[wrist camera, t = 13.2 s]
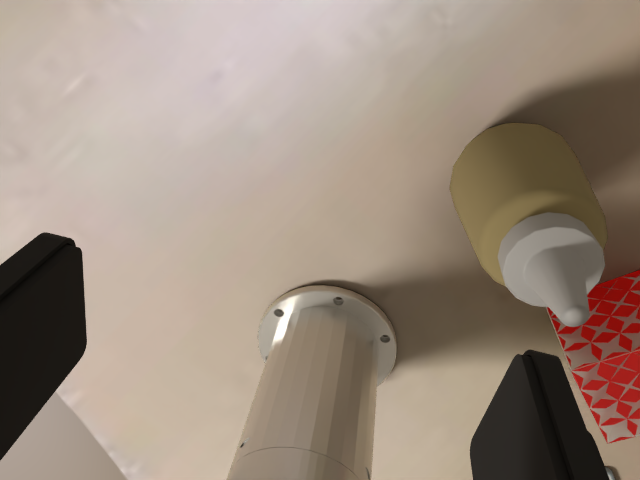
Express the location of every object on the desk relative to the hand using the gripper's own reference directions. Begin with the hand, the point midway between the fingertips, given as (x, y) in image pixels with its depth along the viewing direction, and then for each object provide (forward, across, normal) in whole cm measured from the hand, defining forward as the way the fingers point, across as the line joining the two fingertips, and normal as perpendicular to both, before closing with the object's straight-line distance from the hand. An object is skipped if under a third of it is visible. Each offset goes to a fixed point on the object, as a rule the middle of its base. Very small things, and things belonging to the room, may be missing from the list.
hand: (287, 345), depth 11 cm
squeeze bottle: (+28, -11, +4) cm, 31 cm away
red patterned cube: (+29, -24, +15) cm, 40 cm away
